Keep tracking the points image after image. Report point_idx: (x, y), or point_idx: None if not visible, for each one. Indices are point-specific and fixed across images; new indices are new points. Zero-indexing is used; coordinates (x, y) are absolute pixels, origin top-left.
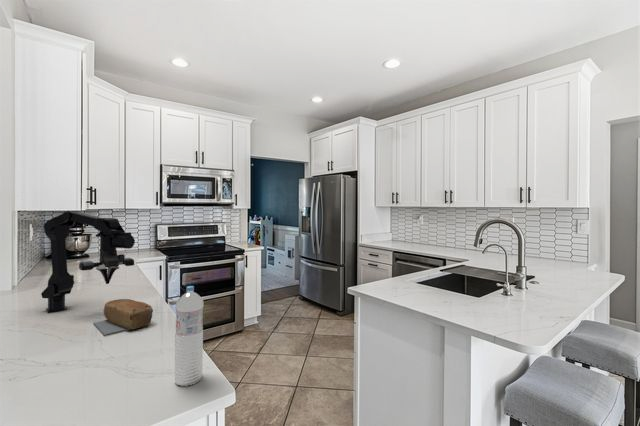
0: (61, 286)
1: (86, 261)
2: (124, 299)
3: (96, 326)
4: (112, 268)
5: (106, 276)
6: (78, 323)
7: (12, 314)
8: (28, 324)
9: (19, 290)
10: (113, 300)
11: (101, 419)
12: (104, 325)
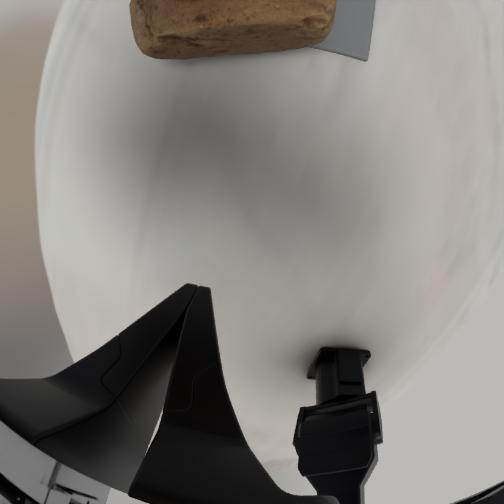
0: (363, 426)
1: None
2: (172, 12)
3: (374, 4)
4: (19, 435)
5: (189, 359)
6: (398, 140)
7: (403, 384)
8: (458, 287)
9: (295, 460)
10: (262, 3)
11: None
12: None
